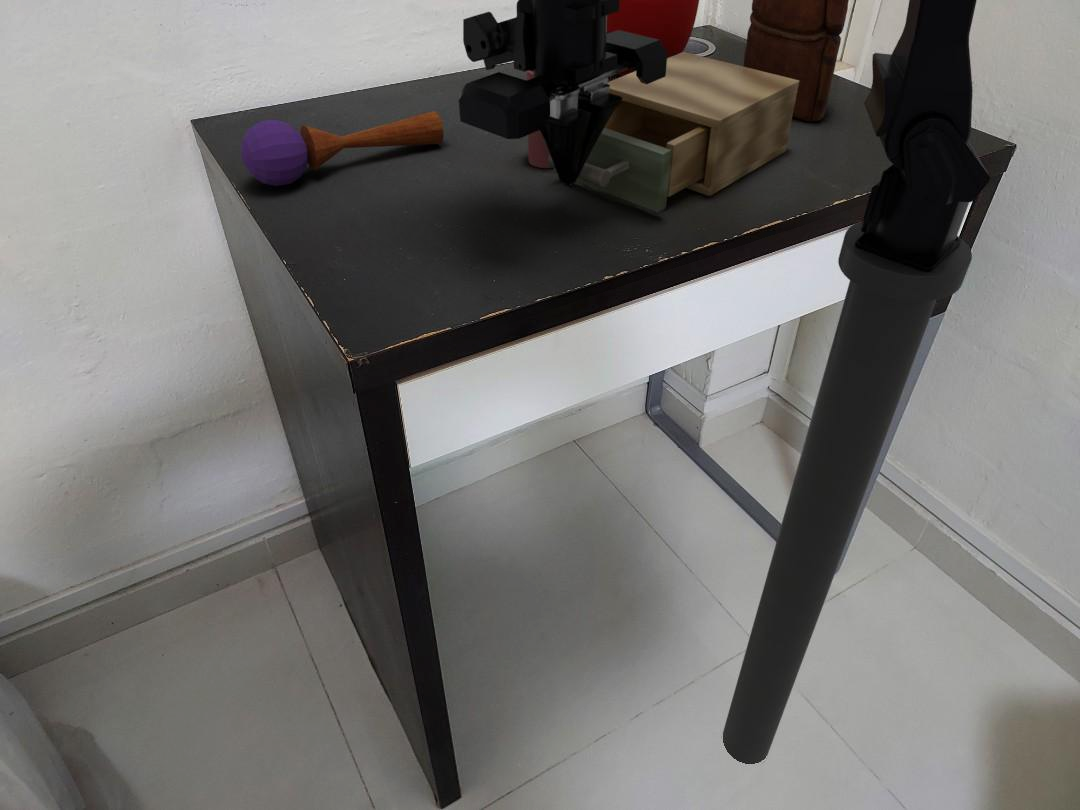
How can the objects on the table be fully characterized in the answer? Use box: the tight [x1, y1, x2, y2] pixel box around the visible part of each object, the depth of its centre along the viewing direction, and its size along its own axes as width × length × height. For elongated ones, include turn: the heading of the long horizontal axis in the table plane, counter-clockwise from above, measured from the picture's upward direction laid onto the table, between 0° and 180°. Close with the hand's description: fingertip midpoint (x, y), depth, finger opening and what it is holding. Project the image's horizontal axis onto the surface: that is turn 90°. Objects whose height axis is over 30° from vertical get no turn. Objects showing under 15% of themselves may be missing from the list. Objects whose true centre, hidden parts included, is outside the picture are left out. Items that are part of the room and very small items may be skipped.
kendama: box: [240, 110, 445, 187], centre depth 78 cm, size 6×6×20 cm
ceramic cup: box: [607, 0, 700, 77], centre depth 98 cm, size 13×17×10 cm
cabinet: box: [608, 51, 799, 197], centre depth 78 cm, size 14×14×7 cm
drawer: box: [548, 100, 711, 213], centre depth 73 cm, size 17×12×5 cm
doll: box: [525, 70, 553, 169], centre depth 76 cm, size 4×4×12 cm
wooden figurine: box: [743, 0, 850, 122], centre depth 84 cm, size 12×6×18 cm, turn 42°
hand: (567, 182), depth 68 cm, fingers closed
